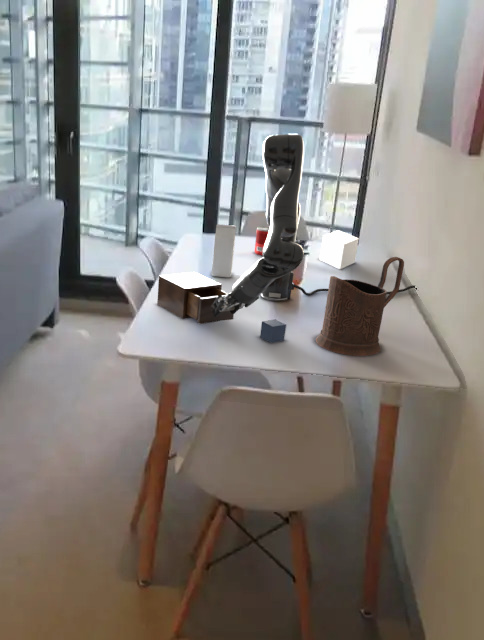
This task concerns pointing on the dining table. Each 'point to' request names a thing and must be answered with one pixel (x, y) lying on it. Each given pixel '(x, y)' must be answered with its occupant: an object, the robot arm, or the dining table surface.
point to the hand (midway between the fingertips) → (223, 312)
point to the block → (273, 331)
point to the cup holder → (356, 314)
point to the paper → (339, 249)
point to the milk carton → (223, 250)
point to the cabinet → (181, 290)
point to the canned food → (261, 239)
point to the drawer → (206, 305)
